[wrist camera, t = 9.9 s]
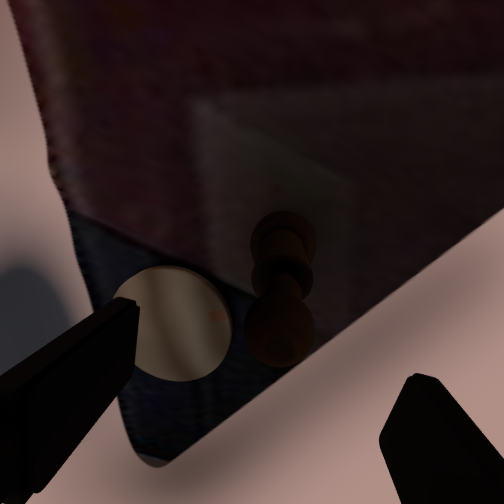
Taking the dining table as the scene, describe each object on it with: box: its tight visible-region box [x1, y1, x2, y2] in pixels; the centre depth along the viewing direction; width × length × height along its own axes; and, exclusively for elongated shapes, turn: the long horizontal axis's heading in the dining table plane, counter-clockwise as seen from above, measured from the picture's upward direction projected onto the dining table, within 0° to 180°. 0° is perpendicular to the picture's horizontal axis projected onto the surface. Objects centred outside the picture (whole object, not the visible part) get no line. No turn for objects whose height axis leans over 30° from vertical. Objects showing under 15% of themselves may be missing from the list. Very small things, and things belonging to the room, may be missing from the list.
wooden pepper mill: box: [244, 211, 316, 367], centre depth 18 cm, size 7×6×18 cm
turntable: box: [113, 265, 233, 381], centre depth 25 cm, size 14×14×8 cm
